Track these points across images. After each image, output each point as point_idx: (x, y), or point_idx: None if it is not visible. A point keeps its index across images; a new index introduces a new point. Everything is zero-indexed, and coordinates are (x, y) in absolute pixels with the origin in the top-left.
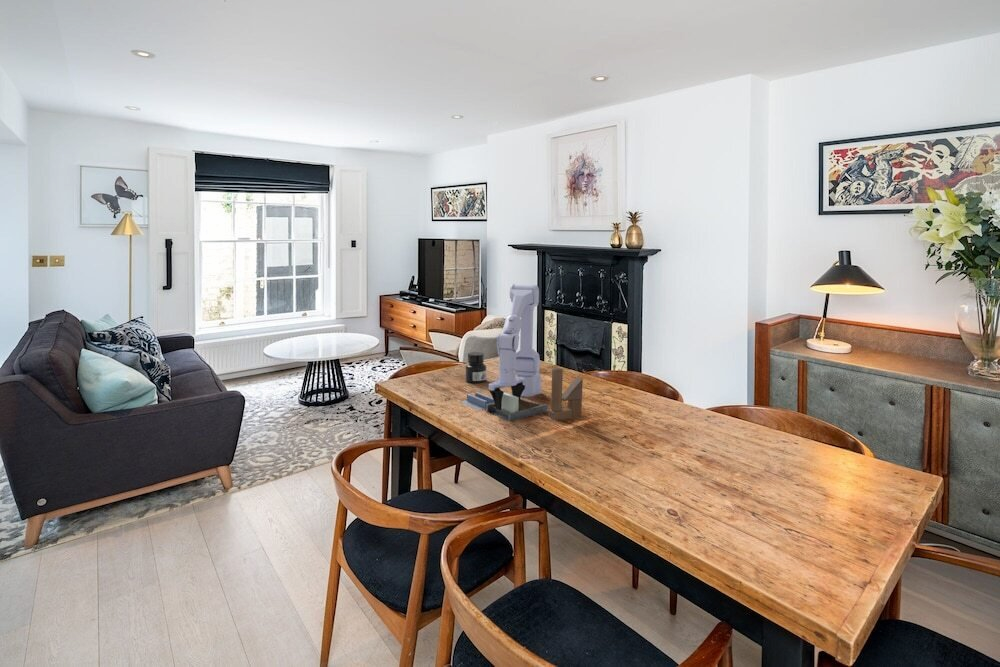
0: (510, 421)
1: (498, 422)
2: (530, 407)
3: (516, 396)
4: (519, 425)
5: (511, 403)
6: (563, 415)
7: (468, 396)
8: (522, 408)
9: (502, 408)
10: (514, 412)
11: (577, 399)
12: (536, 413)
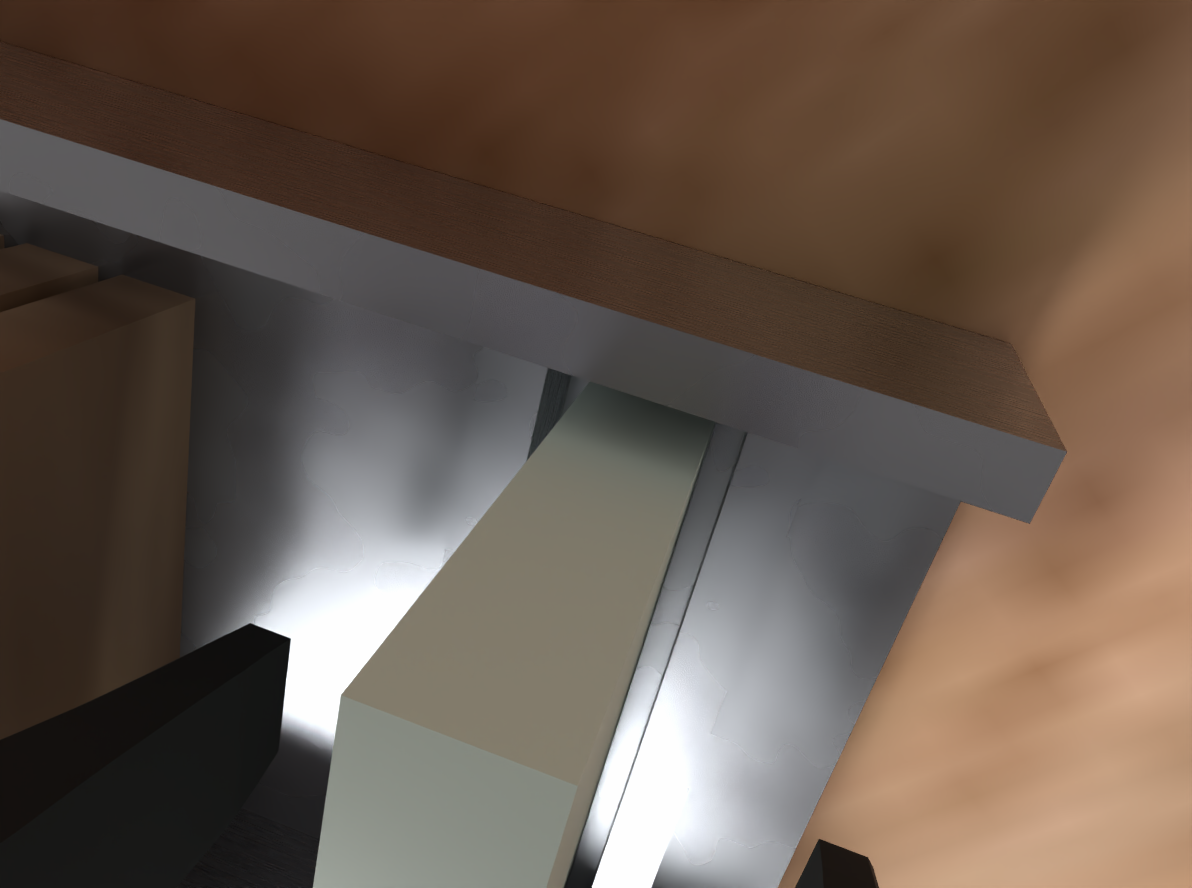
0: (1010, 364)
1: (1021, 631)
2: (69, 327)
3: (99, 844)
4: (944, 95)
5: (602, 744)
6: None
7: None
8: (157, 535)
9: (575, 847)
10: (815, 423)
11: None
12: (122, 103)
